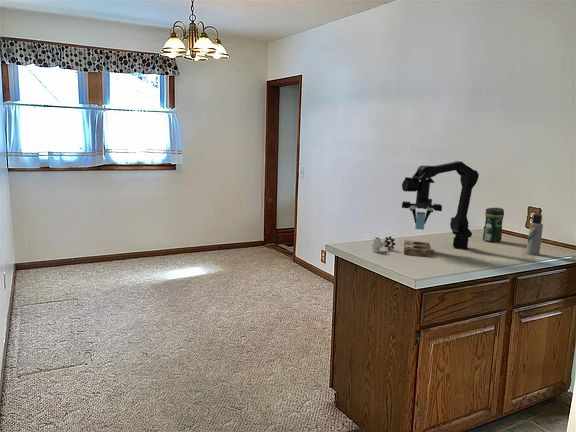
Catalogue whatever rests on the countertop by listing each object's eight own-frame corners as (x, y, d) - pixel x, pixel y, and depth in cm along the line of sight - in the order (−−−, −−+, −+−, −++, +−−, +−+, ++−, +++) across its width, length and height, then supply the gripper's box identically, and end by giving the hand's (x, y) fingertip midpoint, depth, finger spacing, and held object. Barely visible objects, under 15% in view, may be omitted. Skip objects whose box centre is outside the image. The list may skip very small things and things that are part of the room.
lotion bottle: (538, 253, 238) (543, 213, 235) (540, 255, 233) (545, 215, 230) (525, 251, 240) (530, 212, 237) (527, 254, 235) (532, 214, 231)
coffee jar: (491, 238, 270) (495, 206, 267) (503, 241, 263) (507, 208, 260) (479, 239, 265) (483, 206, 262) (491, 243, 258) (495, 209, 255)
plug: (423, 228, 236) (425, 212, 235) (423, 229, 232) (425, 213, 231) (415, 227, 237) (416, 211, 236) (415, 228, 233) (416, 212, 232)
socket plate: (428, 248, 238) (429, 242, 238) (430, 256, 221) (431, 250, 220) (403, 246, 241) (404, 239, 240) (403, 254, 224) (404, 247, 223)
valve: (378, 253, 223) (395, 251, 230) (379, 240, 222) (396, 237, 229) (367, 250, 228) (384, 248, 235) (368, 237, 227) (385, 234, 234)
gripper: (402, 192, 226) (399, 224, 229) (444, 195, 222) (440, 228, 224) (403, 189, 237) (400, 220, 240) (442, 192, 232) (439, 224, 235)
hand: (420, 223), depth 234 cm, fingers closed on plug, 4 cm apart
